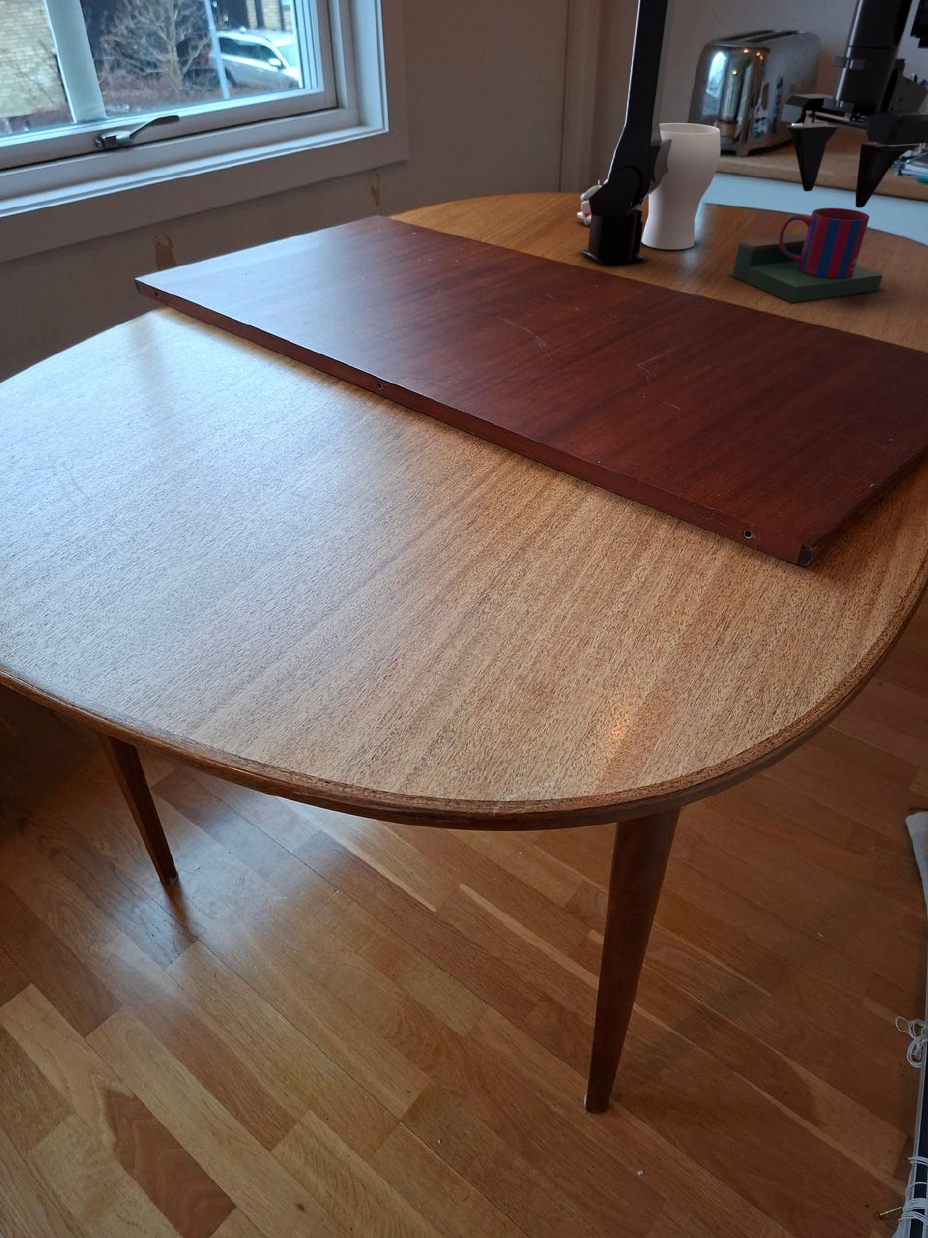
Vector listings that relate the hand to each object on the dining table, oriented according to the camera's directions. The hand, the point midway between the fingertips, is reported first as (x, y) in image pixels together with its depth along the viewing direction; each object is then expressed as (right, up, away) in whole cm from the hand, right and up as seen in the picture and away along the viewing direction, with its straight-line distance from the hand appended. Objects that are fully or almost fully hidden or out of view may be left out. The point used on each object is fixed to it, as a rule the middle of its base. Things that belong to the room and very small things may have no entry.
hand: (832, 198), depth 104 cm
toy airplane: (-23, +11, +31) cm, 41 cm away
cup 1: (-15, +4, +22) cm, 27 cm away
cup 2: (0, -7, +5) cm, 9 cm away
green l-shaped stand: (-1, -8, +7) cm, 10 cm away
